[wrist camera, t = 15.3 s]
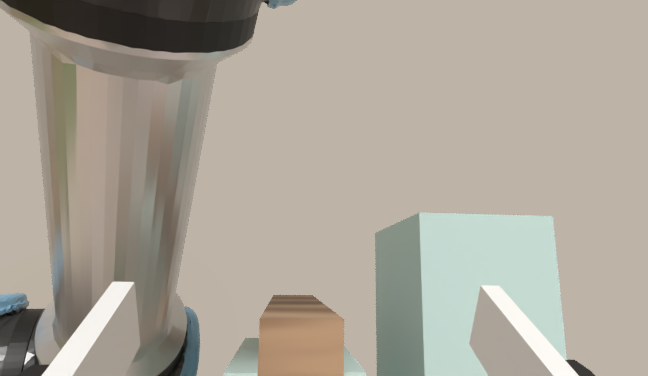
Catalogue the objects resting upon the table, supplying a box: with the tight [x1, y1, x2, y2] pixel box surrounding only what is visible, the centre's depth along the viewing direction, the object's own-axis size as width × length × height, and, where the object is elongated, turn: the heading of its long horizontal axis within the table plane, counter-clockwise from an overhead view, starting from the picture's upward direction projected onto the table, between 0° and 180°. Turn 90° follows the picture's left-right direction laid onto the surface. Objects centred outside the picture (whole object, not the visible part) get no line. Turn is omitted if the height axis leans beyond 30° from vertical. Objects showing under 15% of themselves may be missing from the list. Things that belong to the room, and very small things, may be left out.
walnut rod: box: [257, 295, 344, 376], centre depth 31 cm, size 24×4×4 cm, turn 5°
